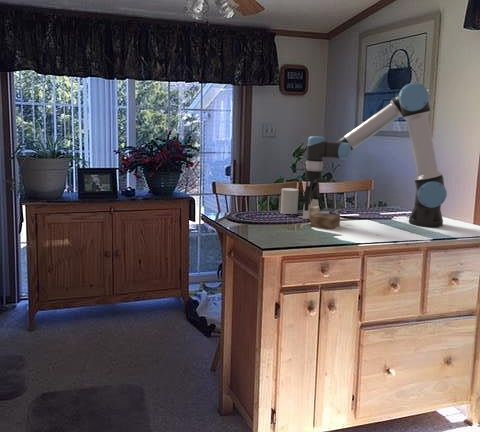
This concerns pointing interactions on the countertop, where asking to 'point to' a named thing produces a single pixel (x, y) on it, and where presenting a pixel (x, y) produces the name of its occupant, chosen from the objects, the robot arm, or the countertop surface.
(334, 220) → the walnut block
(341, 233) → the countertop surface
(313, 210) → the maple cube
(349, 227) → the countertop surface
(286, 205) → the cup
